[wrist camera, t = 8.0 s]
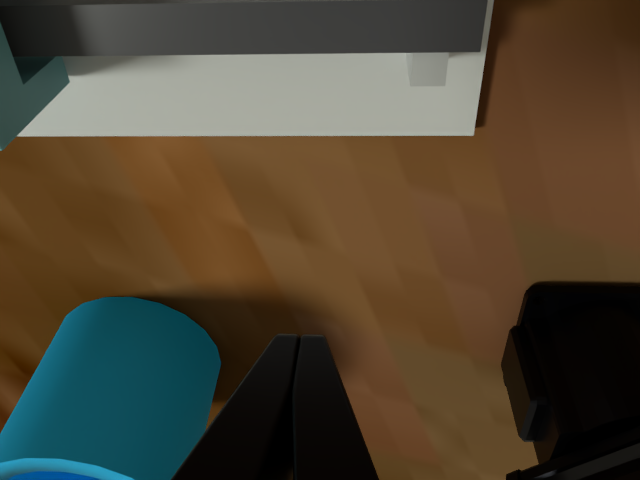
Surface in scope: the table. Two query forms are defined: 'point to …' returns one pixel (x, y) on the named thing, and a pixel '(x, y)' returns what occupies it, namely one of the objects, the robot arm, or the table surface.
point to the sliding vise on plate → (256, 66)
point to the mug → (113, 396)
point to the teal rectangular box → (26, 88)
